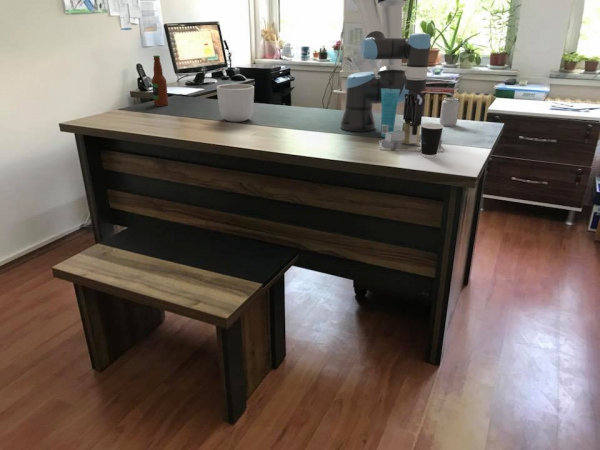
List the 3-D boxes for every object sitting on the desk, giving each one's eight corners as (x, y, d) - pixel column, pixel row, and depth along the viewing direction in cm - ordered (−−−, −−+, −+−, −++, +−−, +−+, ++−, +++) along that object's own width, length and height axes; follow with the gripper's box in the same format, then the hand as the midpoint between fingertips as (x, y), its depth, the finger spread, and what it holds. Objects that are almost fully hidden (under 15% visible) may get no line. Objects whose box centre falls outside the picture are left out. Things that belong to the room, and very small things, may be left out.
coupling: (405, 143, 188) (407, 125, 186) (401, 140, 193) (402, 122, 190) (418, 143, 189) (420, 125, 186) (413, 140, 194) (415, 122, 191)
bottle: (157, 103, 267) (152, 54, 257) (170, 104, 266) (165, 55, 257) (152, 106, 260) (146, 56, 250) (165, 106, 260) (160, 56, 250)
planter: (247, 115, 241) (246, 83, 235) (260, 122, 227) (259, 88, 221) (213, 118, 234) (212, 84, 228) (224, 125, 220) (223, 90, 214)
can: (457, 127, 222) (460, 100, 217) (439, 126, 223) (443, 99, 219) (455, 123, 229) (459, 97, 224) (438, 122, 230) (442, 96, 225)
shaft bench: (380, 150, 184) (381, 134, 181) (378, 141, 196) (380, 126, 194) (443, 152, 182) (445, 136, 179) (438, 143, 194) (440, 128, 192)
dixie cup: (413, 156, 177) (416, 125, 173) (424, 151, 183) (427, 122, 178) (433, 160, 172) (437, 128, 168) (443, 155, 178) (447, 125, 174)
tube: (395, 135, 206) (399, 88, 198) (396, 138, 201) (400, 89, 194) (377, 134, 207) (380, 87, 199) (377, 137, 202) (381, 89, 195)
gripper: (435, 81, 174) (428, 146, 183) (416, 75, 190) (410, 135, 200) (415, 81, 173) (408, 147, 182) (398, 75, 189) (392, 136, 198)
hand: (409, 141), depth 191 cm, fingers closed on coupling, 5 cm apart
